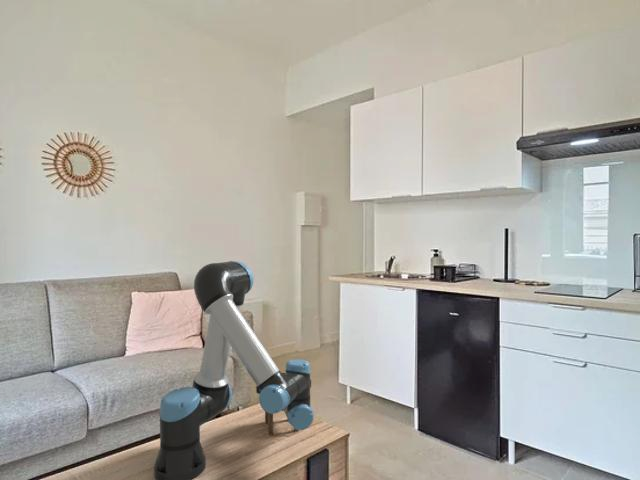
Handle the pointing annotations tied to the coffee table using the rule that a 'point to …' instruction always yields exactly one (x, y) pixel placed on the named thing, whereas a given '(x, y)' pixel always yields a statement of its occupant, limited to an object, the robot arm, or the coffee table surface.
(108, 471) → the coffee table surface
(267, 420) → the stool
